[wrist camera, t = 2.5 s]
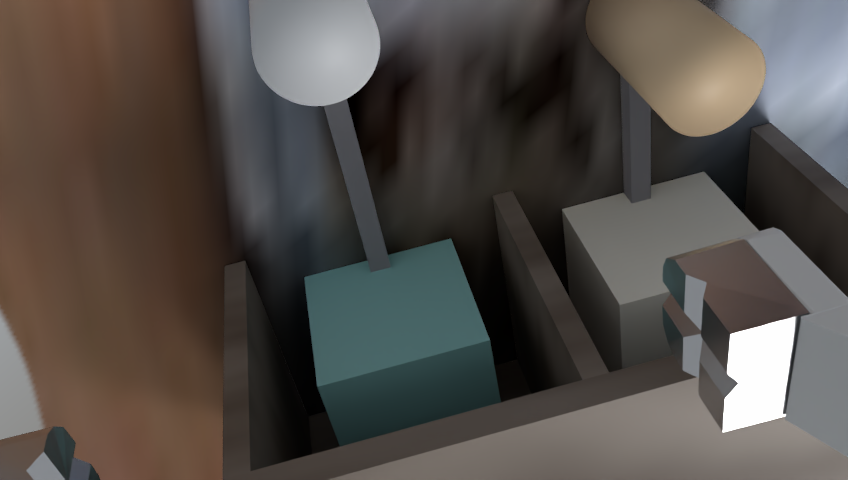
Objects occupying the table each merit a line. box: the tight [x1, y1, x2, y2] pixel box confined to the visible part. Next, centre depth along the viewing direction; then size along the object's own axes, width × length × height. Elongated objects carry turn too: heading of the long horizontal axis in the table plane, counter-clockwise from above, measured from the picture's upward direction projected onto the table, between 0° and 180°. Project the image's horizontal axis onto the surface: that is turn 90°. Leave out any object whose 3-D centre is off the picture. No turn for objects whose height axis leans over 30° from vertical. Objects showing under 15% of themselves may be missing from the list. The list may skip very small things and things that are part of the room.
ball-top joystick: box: [249, 0, 501, 447], centre depth 27 cm, size 19×6×6 cm, turn 10°
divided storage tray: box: [223, 123, 848, 480], centre depth 30 cm, size 10×22×11 cm, turn 100°
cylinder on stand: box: [562, 0, 766, 372], centre depth 29 cm, size 15×6×6 cm, turn 10°
